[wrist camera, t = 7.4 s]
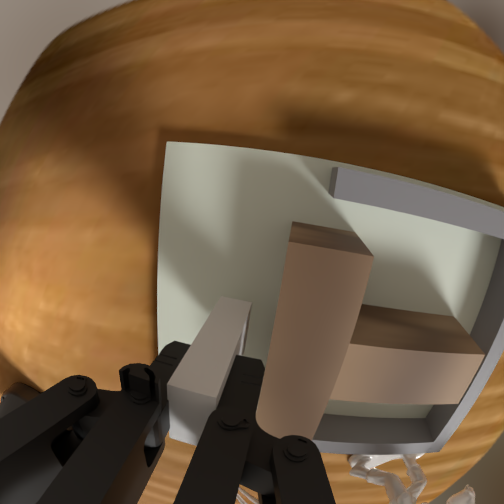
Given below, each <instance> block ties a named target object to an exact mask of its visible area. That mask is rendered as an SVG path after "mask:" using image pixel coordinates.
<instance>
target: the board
mask: <svg viewBox="0 0 504 504" xmlns="http://www.w3.org/2000/svg"><path fill="white" fill-rule="evenodd" d="M292 221H294V222H300V223H306V224H312V225H318V226H323V227H329V228H335V229H340V230H346V231H351V232H355V233H356V234H357V235H358V236H359V238H360V239H361V240H362V241H363V243H364V244H365V245H366V247H367V248H368V249H369V250H370V252H371V253H372V254H373V256H374V259H373V263H372V268H371V272H370V275H369V279H368V283H367V287H366V291H365V294H364V298H363V301H362V304H366V305H373V306H379V307H386V308H393V309H401V310H408V311H415V312H423V313H430V314H438V315H446V316H454V317H455V318H456V319H457V321H458V322H459V323H460V324H461V325H462V327H463V328H464V329H465V330H466V331H467V333H468V334H469V335H470V336H471V337H472V339H473V340H474V341H475V342H476V344H477V345H478V346H479V347H480V349H481V350H482V351H483V352H484V354H485V356H484V358H483V360H482V362H481V364H480V366H479V368H478V370H477V372H476V374H475V375H474V377H473V379H472V381H471V383H470V384H469V386H468V388H467V390H466V391H465V393H464V395H463V396H462V398H461V400H460V401H459V403H458V404H427V405H419V404H383V403H366V402H353V401H342V400H332V399H329V401H328V404H327V406H326V409H325V411H324V414H323V416H322V418H321V421H320V423H319V425H318V428H317V430H316V432H315V435H314V437H313V439H312V441H313V442H314V443H315V444H316V446H317V447H318V449H319V451H320V452H323V453H336V454H357V455H399V454H418V453H431V452H439V451H440V450H441V449H442V447H443V446H444V445H445V444H446V442H447V441H448V440H449V438H450V437H451V436H452V434H453V433H454V432H455V430H456V429H457V427H458V426H459V425H460V423H461V422H462V420H463V419H464V417H465V416H466V415H467V413H468V412H469V410H470V409H471V407H472V405H473V404H474V402H475V401H476V399H477V398H478V396H479V394H480V393H481V391H482V389H483V388H484V386H485V384H486V382H487V381H488V379H489V377H490V375H491V374H492V372H493V370H494V368H495V366H496V364H497V362H498V360H499V358H500V356H501V354H502V352H503V350H504V207H501V206H498V205H496V204H493V203H490V202H487V201H484V200H481V199H478V198H476V197H473V196H469V195H466V194H463V193H460V192H457V191H454V190H450V189H447V188H444V187H440V186H437V185H433V184H430V183H426V182H423V181H419V180H415V179H411V178H408V177H404V176H400V175H396V174H392V173H387V172H383V171H379V170H375V169H370V168H365V167H361V166H356V165H351V164H346V163H341V162H336V161H331V160H325V159H320V158H314V157H308V156H302V155H295V154H289V153H282V152H275V151H268V150H260V149H252V148H243V147H234V146H224V145H213V144H200V143H186V142H168V141H167V144H166V152H165V162H164V171H163V182H162V194H161V207H160V223H159V243H158V275H157V325H158V355H159V353H160V352H161V350H162V349H163V348H164V346H166V345H167V344H169V343H171V342H173V341H178V342H182V343H186V344H190V345H191V344H192V342H193V341H194V339H195V338H196V336H197V334H198V333H199V331H200V329H201V328H202V326H203V325H204V323H205V321H206V320H207V318H208V316H209V315H210V313H211V312H212V310H213V308H214V307H215V305H216V304H217V302H218V300H219V299H220V297H221V296H223V297H228V298H233V299H238V300H243V301H248V302H252V308H251V314H250V320H249V327H248V333H247V339H246V345H245V351H244V354H243V356H246V357H251V358H256V359H261V360H262V362H263V365H264V367H265V368H266V363H267V358H268V353H269V347H270V342H271V337H272V332H273V327H274V321H275V316H276V310H277V305H278V299H279V294H280V288H281V283H282V277H283V271H284V265H285V259H286V253H287V247H288V241H289V236H290V231H291V226H292ZM264 373H265V372H264ZM263 378H264V377H263ZM260 392H261V391H260ZM259 397H260V396H259ZM258 402H259V401H258ZM256 411H257V410H256Z"/></svg>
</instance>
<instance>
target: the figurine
mask: <svg viewBox="0 0 504 504" xmlns="http://www.w3.org/2000/svg"><path fill="white" fill-rule="evenodd" d="M423 454H424V453H418V454H399V455H357V454H353V455H352V456H351V457H350V458H349V460H348V461H349V464H350V466H351V467H352V469H351V470H350V472H349V474H350V475H351V476H355V477H360V478H363V479H366V480H367V482H369V483H374V484H376V485H382V486H385V488H386V493H387V495H388V498H389V500H390V503H389V504H416V501H417V497H418V496H419V494H420V493H421V491H422V490H423V488H424V487H425V485H426V483H427V478H426V476H425V474H424V473H423V471H422V469H421V467H420V465H419V464H417V463H416V459H417V458H419V457H421V456H422V455H423ZM397 458H402V459H403V461H404V463H405V465H406V467H407V469H408V470H407V475H408V476H409V477H410V480H411V481H412V484H411V485H410V486H409V487H408V488H407V489H406V487H405V486H404V485H403V483H402V481H401V479H400V478H399V477H398V476H397V475H396V474H393V473H390V472H386V471H382V470H379V469H377V468H372V467H375V466H378V465H380V464H383V463H385V462H388V461H390V460H393V459H397ZM370 468H372V469H370ZM467 486H468V485H467ZM467 486H466V487H465V489H463V490H462V491H460V492H458V493H456V494H454V495H453V496H451V497H450V498H449V499H448V500H447V503H446V504H475V492H474V491H473V488H471V487H468V488H467ZM421 504H429V503H427V502H424V503H421Z"/></svg>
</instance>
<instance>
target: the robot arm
mask: <svg viewBox="0 0 504 504" xmlns="http://www.w3.org/2000/svg"><path fill="white" fill-rule="evenodd" d="M251 308H252V302H248V301H243V300H238V299H233V298H228V297H223V296H221V297H220V299H219V300H218V302H217V304H216V305H215V307H214V308H213V310H212V312H211V313H210V315H209V316H208V318H207V320H206V321H205V323H204V325H203V326H202V328H201V329H200V331H199V333H198V334H197V336H196V338H195V339H194V341H193V342H192V344H191V345H190V344H186V343H182V342H178V341H173V342H171V343H169V344H167V345H166V346H164V348H163V349H162V350H161V352H160V353H159V355H158V356H157V357H156V358H155V361H153V363H152V364H151V365H150V366H149V365H146V364H141V363H136V364H129V365H126V366H124V367H122V368H121V369H120V370H119V375H120V381H121V388H122V390H121V391H109V390H102V389H97V387H96V383H95V382H94V381H93V380H92V379H91V378H89V377H87V376H82V375H74V376H70V377H68V378H65V379H64V380H62V381H60V382H59V383H57V384H56V385H54V386H52V387H51V388H49V389H48V390H46V391H44V392H43V393H41V394H40V393H39V392H37V391H36V390H34V389H32V388H31V387H29V386H27V385H25V384H22V383H14V384H13V385H12V386H11V387H10V388H8V389H7V390H6V391H5V392H4V393H3V395H2V397H1V403H0V504H137V503H138V501H139V499H140V497H141V495H142V493H143V491H144V489H145V487H146V485H147V483H148V481H149V479H150V477H151V475H152V473H153V471H154V469H155V467H156V464H157V462H158V460H159V458H160V456H161V454H162V452H163V450H164V447H165V437H166V435H167V433H168V431H169V434H170V438H172V439H176V440H179V441H182V442H185V443H189V444H192V445H196V446H197V447H196V449H195V452H194V454H193V457H192V459H191V462H190V464H189V467H188V469H187V472H186V474H185V477H184V479H183V481H182V484H181V486H180V489H179V491H178V494H177V496H176V498H175V501H174V503H173V504H235V501H236V497H237V493H238V489H239V485H240V484H241V485H243V486H245V487H247V488H249V489H251V490H253V491H256V492H258V498H259V504H336V503H335V500H334V496H333V493H332V490H331V487H330V483H329V480H328V477H327V474H326V470H325V467H324V464H323V461H322V458H321V454H320V451H319V449H318V447H317V446H316V444H315V443H314V442H313V441H311V440H310V439H308V438H306V437H303V436H299V435H289V436H284V437H282V438H281V439H279V438H277V437H275V436H272V435H270V434H268V433H267V432H265V431H264V430H263V429H261V428H260V426H259V425H258V423H257V421H256V410H257V406H258V401H259V396H260V391H261V387H262V382H263V377H264V372H265V367H264V365H263V362H262V360H261V359H256V358H251V357H246V356H243V354H244V351H245V345H246V339H247V333H248V327H249V320H250V314H251Z"/></svg>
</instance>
